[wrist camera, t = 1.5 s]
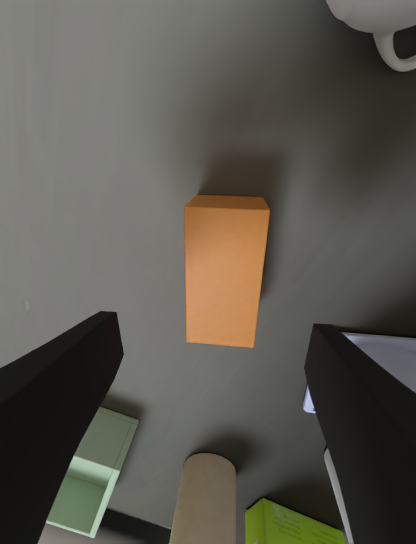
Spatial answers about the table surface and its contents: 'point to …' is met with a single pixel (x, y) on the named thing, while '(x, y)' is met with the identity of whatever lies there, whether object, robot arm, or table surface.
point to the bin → (93, 473)
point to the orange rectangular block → (224, 268)
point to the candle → (206, 502)
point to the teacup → (379, 24)
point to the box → (286, 526)
